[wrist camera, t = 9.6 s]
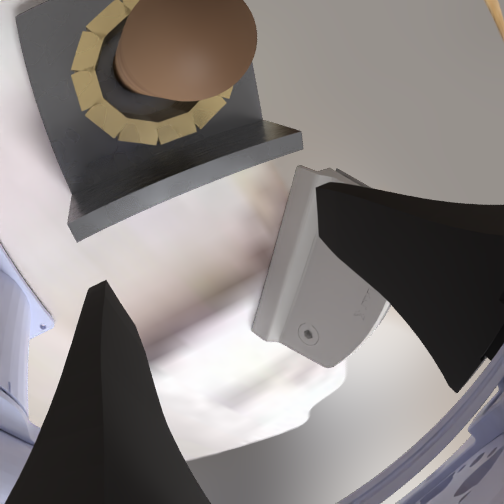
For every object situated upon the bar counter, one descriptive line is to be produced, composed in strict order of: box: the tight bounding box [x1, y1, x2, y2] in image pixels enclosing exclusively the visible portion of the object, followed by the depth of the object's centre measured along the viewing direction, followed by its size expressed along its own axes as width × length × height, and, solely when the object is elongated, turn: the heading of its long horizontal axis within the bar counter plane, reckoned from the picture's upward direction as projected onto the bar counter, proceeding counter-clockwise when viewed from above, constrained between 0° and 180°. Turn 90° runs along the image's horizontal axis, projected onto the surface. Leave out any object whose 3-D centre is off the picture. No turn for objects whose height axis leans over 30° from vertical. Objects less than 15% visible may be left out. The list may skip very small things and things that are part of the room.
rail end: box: [113, 0, 257, 101], centre depth 9 cm, size 4×4×9 cm
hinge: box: [252, 165, 391, 368], centre depth 24 cm, size 17×5×10 cm, turn 165°
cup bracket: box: [16, 0, 303, 242], centre depth 12 cm, size 12×12×5 cm
